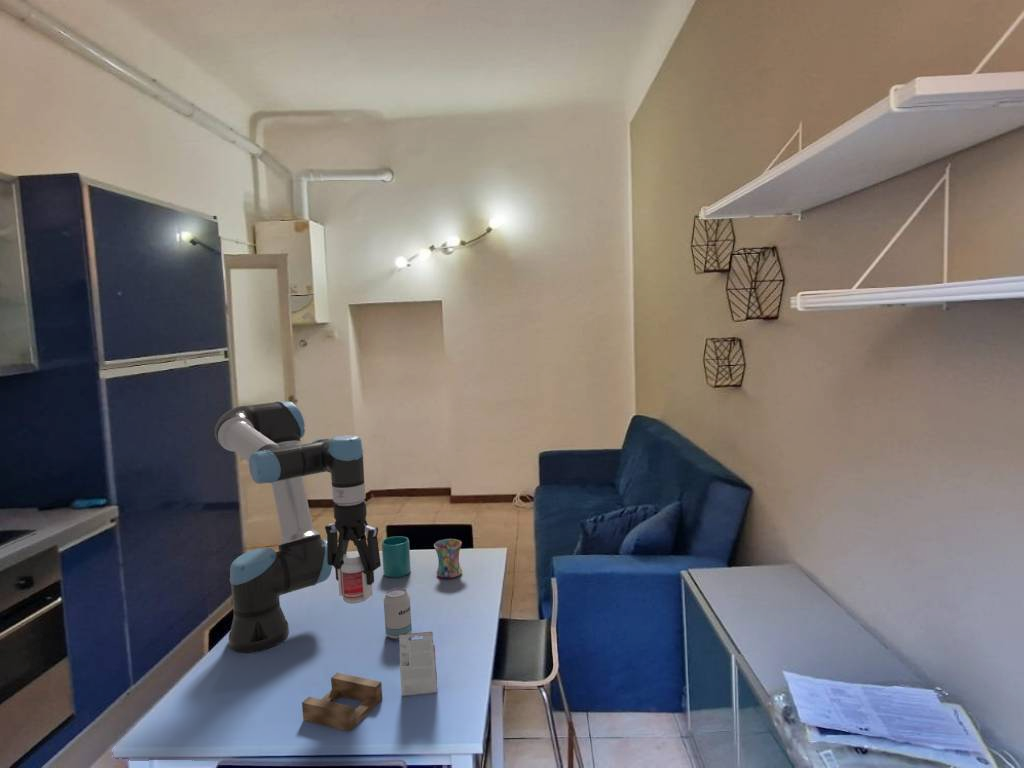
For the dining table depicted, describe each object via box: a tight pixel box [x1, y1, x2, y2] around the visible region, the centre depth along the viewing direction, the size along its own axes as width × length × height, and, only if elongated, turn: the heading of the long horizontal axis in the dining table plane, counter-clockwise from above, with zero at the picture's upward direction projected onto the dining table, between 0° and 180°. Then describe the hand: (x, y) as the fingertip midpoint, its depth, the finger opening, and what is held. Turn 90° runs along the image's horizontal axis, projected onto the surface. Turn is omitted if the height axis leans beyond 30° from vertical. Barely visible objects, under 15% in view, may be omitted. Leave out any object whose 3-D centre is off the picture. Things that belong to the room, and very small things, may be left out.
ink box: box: [398, 631, 438, 697], centre depth 141 cm, size 4×8×15 cm, turn 96°
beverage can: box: [383, 587, 413, 641], centre depth 167 cm, size 7×7×12 cm
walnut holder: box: [301, 672, 383, 733], centre depth 136 cm, size 12×12×4 cm
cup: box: [381, 535, 412, 578], centre depth 211 cm, size 9×12×11 cm
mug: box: [433, 538, 463, 579], centre depth 205 cm, size 12×9×11 cm
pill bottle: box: [341, 550, 368, 604], centre depth 149 cm, size 6×6×11 cm
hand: (356, 594), depth 150 cm, fingers closed on pill bottle, 6 cm apart
